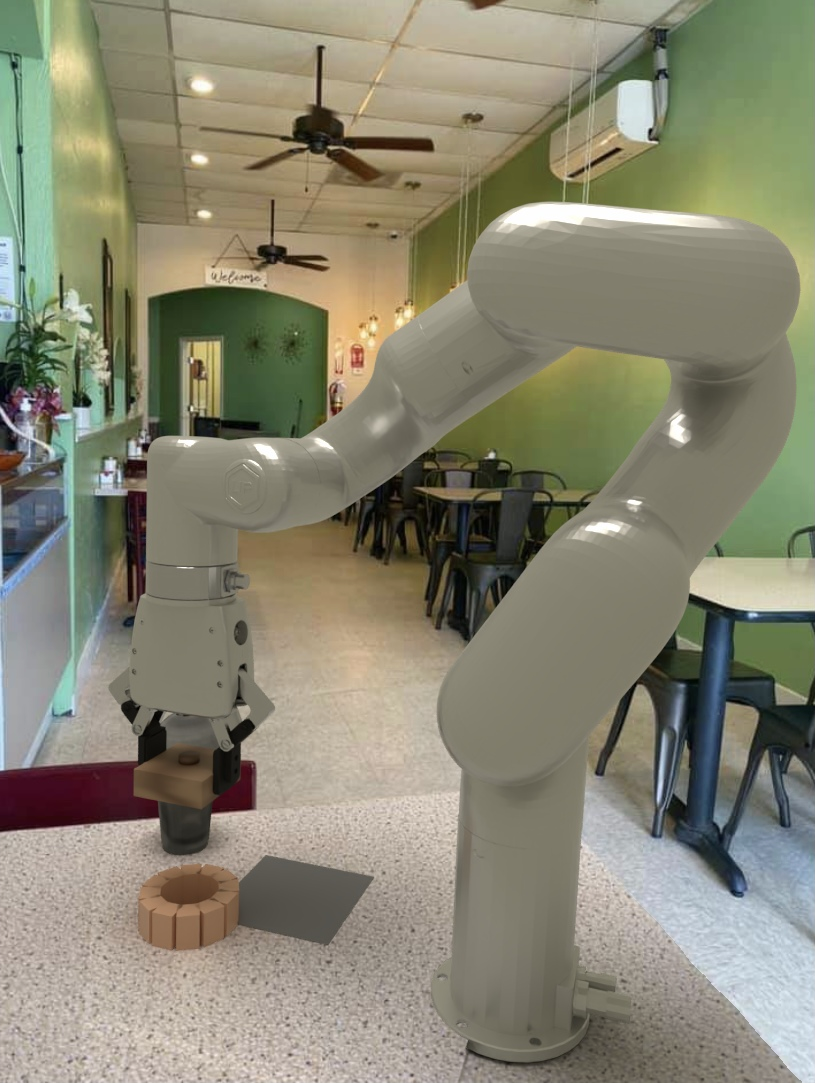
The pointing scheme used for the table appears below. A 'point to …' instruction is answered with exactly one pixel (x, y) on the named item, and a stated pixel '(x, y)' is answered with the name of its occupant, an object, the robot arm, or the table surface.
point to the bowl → (188, 907)
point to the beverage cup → (180, 823)
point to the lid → (178, 777)
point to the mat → (298, 898)
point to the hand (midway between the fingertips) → (188, 780)
